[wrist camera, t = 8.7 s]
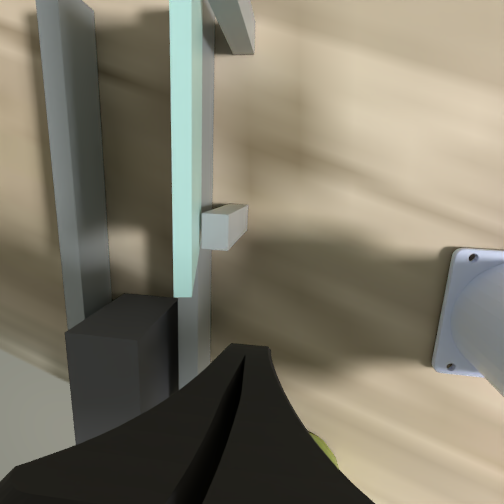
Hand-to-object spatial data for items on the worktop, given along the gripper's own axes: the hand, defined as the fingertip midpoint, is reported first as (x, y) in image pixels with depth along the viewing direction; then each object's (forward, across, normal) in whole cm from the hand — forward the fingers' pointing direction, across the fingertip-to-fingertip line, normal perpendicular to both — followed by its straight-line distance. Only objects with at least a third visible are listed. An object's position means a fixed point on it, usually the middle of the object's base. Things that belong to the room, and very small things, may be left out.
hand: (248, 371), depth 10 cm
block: (+10, +8, +6) cm, 15 cm away
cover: (+3, +3, -9) cm, 10 cm away
